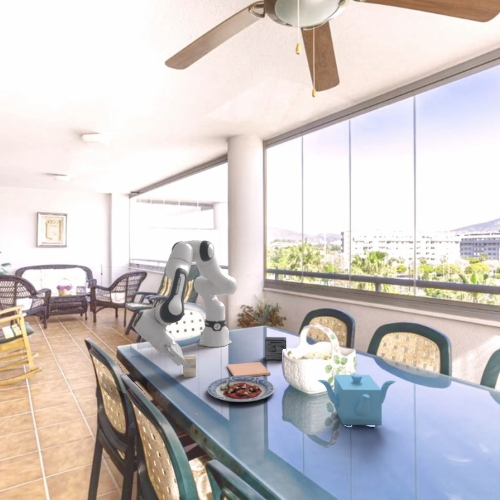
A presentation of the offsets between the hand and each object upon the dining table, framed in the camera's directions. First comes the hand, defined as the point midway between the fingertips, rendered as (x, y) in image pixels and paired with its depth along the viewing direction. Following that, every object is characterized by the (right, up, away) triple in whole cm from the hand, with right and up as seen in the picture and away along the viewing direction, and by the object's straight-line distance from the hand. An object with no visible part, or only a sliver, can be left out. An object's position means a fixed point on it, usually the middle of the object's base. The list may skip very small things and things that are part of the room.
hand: (187, 363), depth 170 cm
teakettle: (+61, -6, -45) cm, 76 cm away
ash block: (+1, -5, 0) cm, 5 cm away
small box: (+40, -5, +24) cm, 47 cm away
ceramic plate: (+24, -6, -20) cm, 31 cm away
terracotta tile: (+26, -5, +6) cm, 27 cm away
